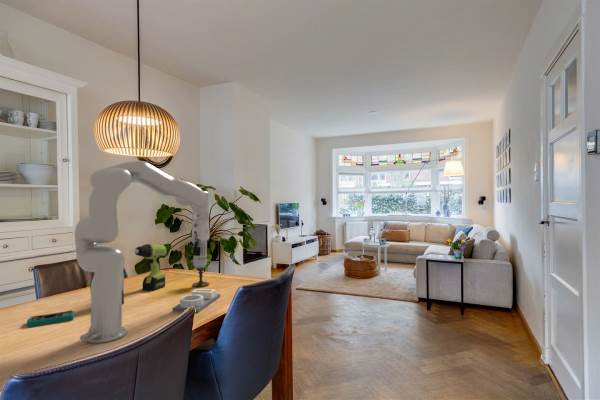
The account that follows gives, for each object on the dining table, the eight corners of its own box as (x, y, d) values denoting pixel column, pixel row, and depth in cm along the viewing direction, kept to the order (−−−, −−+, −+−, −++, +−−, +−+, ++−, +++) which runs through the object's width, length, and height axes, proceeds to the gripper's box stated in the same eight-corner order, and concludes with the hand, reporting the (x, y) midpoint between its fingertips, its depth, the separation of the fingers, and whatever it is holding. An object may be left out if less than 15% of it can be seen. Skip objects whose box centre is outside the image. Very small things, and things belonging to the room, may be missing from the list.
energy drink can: (199, 268, 152) (199, 236, 152) (190, 267, 155) (190, 235, 155) (209, 266, 157) (209, 235, 158) (200, 265, 160) (200, 234, 161)
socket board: (198, 312, 141) (198, 302, 141) (172, 311, 143) (172, 301, 143) (220, 296, 165) (220, 287, 165) (197, 295, 167) (197, 287, 167)
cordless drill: (139, 296, 165) (139, 247, 165) (127, 295, 167) (127, 246, 167) (167, 285, 188) (168, 241, 188) (157, 284, 189) (157, 241, 190)
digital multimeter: (28, 323, 130) (28, 316, 130) (74, 316, 138) (74, 309, 138) (25, 329, 124) (25, 321, 124) (73, 321, 132) (73, 314, 132)
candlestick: (213, 283, 192) (213, 223, 193) (206, 288, 182) (206, 224, 182) (195, 282, 194) (195, 223, 194) (187, 287, 183) (187, 224, 183)
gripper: (199, 217, 148) (199, 257, 147) (215, 216, 165) (214, 252, 164) (184, 217, 149) (183, 257, 148) (201, 216, 166) (200, 251, 165)
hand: (200, 254), depth 156 cm, fingers closed on energy drink can, 6 cm apart
